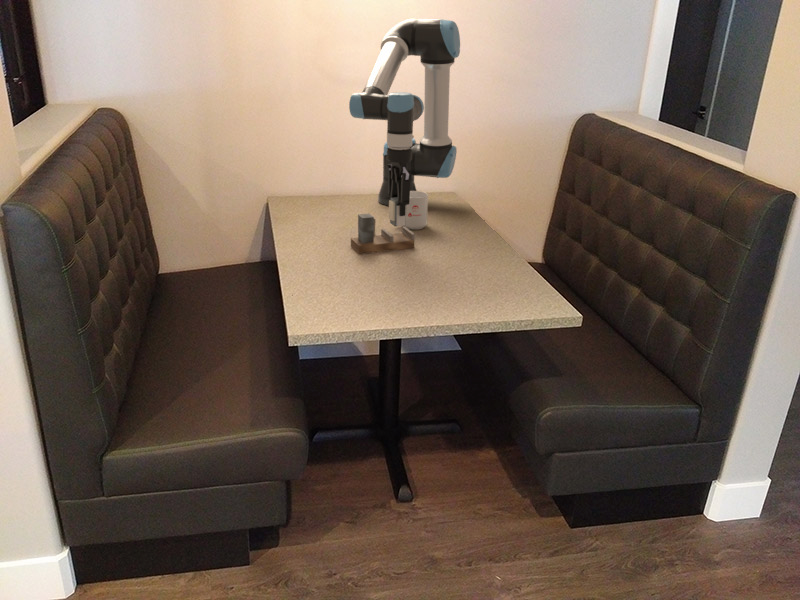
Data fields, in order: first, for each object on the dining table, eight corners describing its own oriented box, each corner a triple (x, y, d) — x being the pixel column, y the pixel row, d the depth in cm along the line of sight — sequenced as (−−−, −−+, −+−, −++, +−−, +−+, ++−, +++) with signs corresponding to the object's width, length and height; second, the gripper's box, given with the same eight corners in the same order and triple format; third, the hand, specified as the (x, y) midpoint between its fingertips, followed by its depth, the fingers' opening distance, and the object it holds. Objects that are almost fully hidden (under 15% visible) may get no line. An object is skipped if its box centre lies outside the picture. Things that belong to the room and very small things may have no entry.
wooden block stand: (404, 240, 226) (405, 208, 222) (414, 247, 219) (415, 215, 215) (350, 245, 220) (350, 213, 216) (359, 254, 213) (359, 220, 209)
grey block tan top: (400, 221, 221) (401, 196, 218) (405, 225, 217) (406, 200, 214) (388, 223, 219) (388, 197, 216) (392, 226, 216) (393, 201, 213)
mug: (424, 222, 244) (425, 190, 240) (428, 230, 236) (430, 197, 232) (390, 222, 243) (390, 191, 238) (393, 230, 235) (393, 198, 230)
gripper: (422, 152, 203) (420, 230, 212) (400, 141, 218) (398, 214, 227) (398, 153, 201) (396, 232, 210) (377, 142, 215) (376, 216, 224)
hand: (397, 223), depth 218 cm, fingers closed on grey block tan top, 4 cm apart
